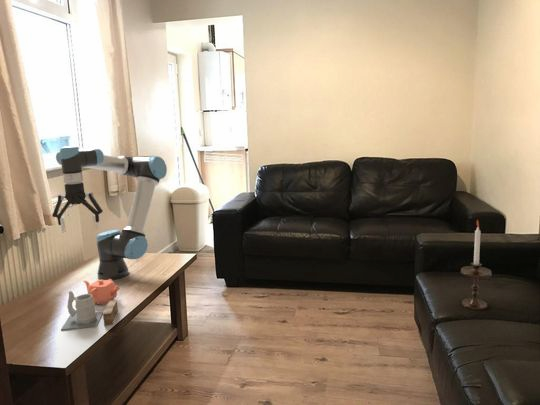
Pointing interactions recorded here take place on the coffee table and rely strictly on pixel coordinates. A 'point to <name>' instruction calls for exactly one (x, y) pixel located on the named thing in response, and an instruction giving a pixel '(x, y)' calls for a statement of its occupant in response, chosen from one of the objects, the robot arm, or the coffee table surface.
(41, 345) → the coffee table surface
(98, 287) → the teapot
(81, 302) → the mug
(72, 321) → the plate
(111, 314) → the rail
